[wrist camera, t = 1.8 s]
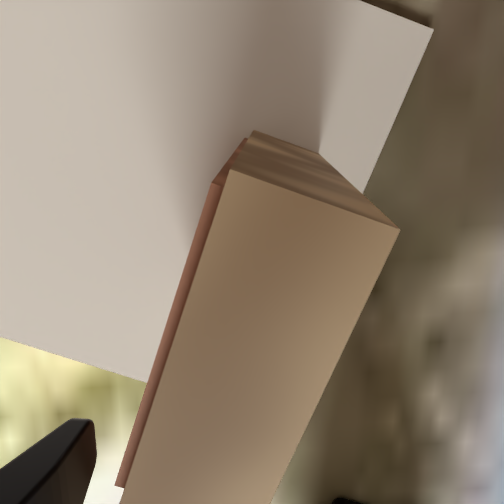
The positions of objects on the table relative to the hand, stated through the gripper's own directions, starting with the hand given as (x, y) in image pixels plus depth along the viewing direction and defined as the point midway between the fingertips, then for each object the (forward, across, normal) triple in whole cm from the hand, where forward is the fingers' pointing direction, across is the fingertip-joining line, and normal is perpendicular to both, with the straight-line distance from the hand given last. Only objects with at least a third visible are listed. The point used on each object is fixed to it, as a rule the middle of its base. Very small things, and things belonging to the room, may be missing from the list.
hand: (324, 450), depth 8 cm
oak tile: (+13, +2, -1) cm, 13 cm away
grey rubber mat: (+13, +8, -2) cm, 16 cm away
